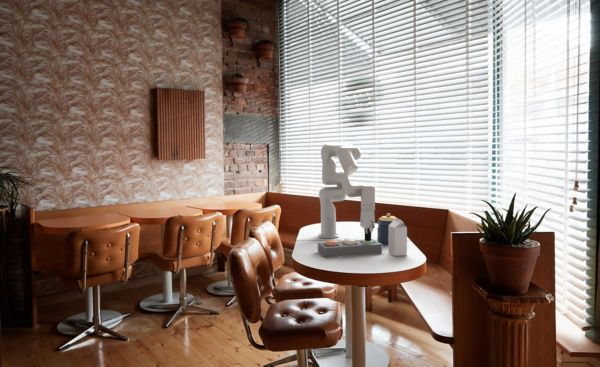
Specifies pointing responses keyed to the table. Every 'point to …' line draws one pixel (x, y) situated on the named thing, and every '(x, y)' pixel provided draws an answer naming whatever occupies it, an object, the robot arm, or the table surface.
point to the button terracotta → (330, 243)
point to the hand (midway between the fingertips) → (367, 240)
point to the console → (349, 249)
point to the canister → (384, 228)
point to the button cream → (349, 241)
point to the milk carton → (397, 238)
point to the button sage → (367, 242)
